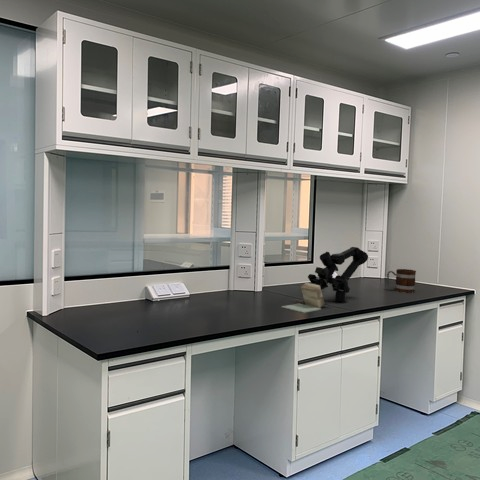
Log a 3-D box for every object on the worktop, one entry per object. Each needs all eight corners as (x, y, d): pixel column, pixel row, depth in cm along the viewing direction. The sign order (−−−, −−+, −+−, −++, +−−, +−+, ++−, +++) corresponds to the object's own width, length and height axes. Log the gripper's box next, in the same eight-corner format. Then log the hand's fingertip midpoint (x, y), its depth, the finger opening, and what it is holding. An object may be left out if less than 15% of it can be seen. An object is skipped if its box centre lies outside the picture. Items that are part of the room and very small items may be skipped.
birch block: (311, 300, 276) (306, 282, 272) (324, 303, 268) (320, 285, 264) (305, 305, 273) (300, 287, 269) (319, 308, 265) (314, 289, 261)
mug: (412, 290, 339) (413, 269, 338) (417, 293, 326) (418, 272, 325) (384, 288, 341) (385, 268, 340) (388, 292, 328) (389, 270, 327)
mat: (299, 304, 274) (299, 303, 274) (321, 309, 262) (321, 308, 262) (281, 307, 264) (281, 306, 264) (303, 312, 252) (303, 312, 252)
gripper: (310, 260, 279) (297, 280, 273) (336, 264, 265) (322, 285, 259) (318, 272, 285) (305, 292, 278) (343, 277, 271) (330, 298, 265)
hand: (315, 291), depth 270 cm, fingers closed
